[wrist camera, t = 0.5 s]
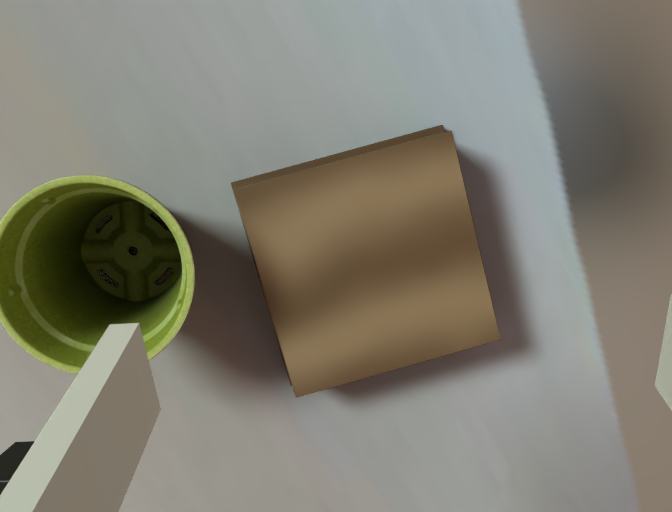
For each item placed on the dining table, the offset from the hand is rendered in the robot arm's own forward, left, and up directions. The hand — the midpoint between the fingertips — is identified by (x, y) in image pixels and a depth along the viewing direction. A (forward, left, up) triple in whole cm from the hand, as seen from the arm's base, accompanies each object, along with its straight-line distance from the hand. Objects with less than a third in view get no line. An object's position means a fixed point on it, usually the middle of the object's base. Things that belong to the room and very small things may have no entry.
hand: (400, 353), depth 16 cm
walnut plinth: (+1, +1, -23) cm, 23 cm away
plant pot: (-3, -12, -23) cm, 26 cm away
